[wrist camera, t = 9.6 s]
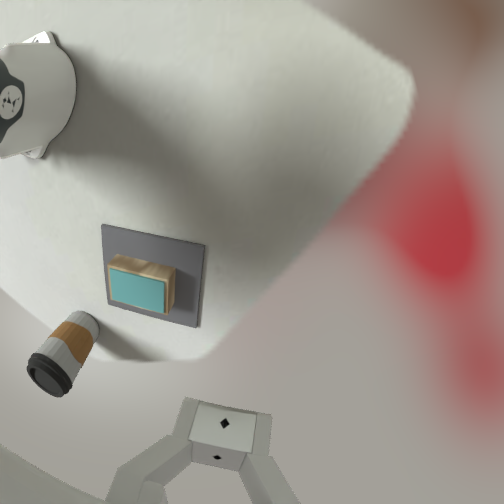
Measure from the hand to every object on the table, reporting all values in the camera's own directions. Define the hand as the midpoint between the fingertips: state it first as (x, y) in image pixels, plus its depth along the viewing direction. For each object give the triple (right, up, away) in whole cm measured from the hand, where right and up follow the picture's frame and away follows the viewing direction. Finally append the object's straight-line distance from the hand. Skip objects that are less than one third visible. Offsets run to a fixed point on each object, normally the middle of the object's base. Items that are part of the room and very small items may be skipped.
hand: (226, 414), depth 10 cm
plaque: (-10, 0, +32) cm, 34 cm away
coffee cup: (-29, -7, +41) cm, 51 cm away
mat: (-14, +2, +34) cm, 37 cm away
